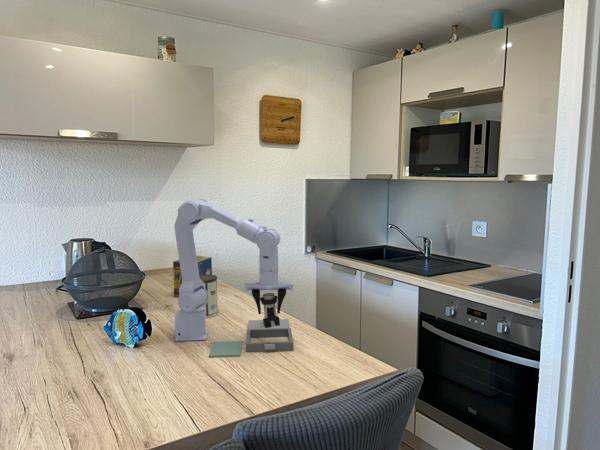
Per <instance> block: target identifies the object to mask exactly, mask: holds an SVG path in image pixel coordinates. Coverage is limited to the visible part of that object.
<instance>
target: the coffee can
mask: <svg viewBox="0 0 600 450" xmlns="http://www.w3.org/2000/svg"><path fill="white" fill-rule="evenodd" d="M199 277H200V279H201V280H202V281H203V282H204V286H205V289H206V290H207V292H208V300H207V302H206V303H205V319H206V318H208V319H209V318H212V317H215V316H217V315H218V313H219V312H218V311H219V310H218V281H217V279H218V276H217V275H215V274H212V275H210V274H201V275H199Z"/></svg>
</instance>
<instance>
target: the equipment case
mask: <svg viewBox="0 0 600 450" xmlns="http://www.w3.org/2000/svg"><path fill="white" fill-rule="evenodd" d="M279 320H280V325H279V326H274V327H269V328H265V327H260V326H263V324H261V325H259V324H260V323H263V319H250V320H249V319H248V321H247V330H246V338H245V339H246V340H245V352H246V353H262V352H266V353H267V352H290V351H291V352H293V351H294V337H293V333H292V328H291V326H290V319H289V318H284V319H283V318H281V319H280V318H279ZM275 337H276V338H279V337H280V338H281V337H283V338H284V337H287V339H288V341H257V342H251V339H252V338H275Z"/></svg>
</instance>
